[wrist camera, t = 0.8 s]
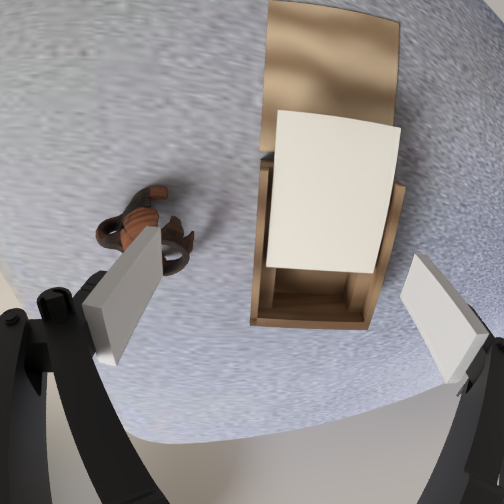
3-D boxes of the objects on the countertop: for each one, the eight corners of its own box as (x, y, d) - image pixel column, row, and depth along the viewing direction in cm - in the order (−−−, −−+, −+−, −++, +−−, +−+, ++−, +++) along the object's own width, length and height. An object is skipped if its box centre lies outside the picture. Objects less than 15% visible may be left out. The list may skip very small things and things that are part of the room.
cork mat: (268, 1, 25) (269, 0, 25) (397, 23, 25) (398, 23, 25) (259, 150, 33) (259, 150, 33) (386, 164, 33) (387, 165, 33)
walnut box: (260, 159, 34) (259, 170, 28) (383, 172, 34) (405, 187, 28) (252, 294, 42) (249, 325, 36) (356, 300, 42) (367, 329, 36)
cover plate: (277, 109, 27) (278, 109, 26) (395, 126, 27) (400, 128, 26) (266, 260, 34) (266, 266, 33) (369, 266, 34) (372, 273, 33)
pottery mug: (190, 177, 36) (194, 230, 31) (192, 229, 43) (197, 279, 38) (93, 187, 33) (81, 241, 29) (110, 237, 41) (105, 287, 36)
